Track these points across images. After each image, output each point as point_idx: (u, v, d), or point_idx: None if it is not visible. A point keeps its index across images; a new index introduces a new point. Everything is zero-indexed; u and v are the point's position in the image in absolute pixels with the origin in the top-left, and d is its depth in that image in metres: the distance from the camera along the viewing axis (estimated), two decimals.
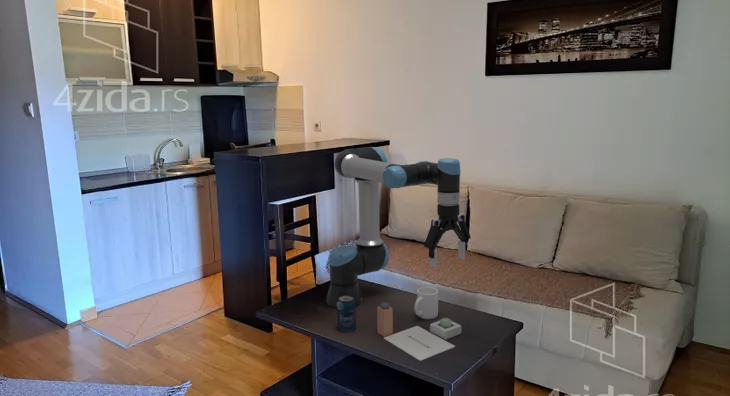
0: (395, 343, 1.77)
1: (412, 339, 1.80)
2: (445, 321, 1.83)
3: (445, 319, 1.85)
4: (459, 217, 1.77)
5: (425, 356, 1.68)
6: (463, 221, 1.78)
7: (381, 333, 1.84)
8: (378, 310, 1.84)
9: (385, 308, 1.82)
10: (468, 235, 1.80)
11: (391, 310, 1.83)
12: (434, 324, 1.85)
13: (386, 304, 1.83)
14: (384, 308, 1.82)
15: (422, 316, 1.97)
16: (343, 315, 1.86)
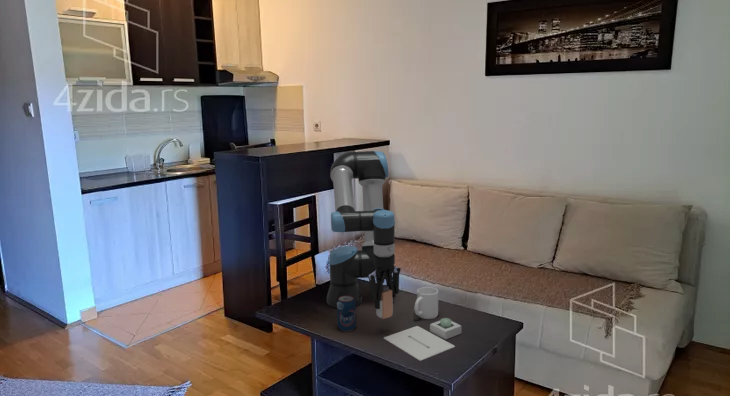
0: (395, 343, 1.77)
1: (412, 339, 1.80)
2: (445, 321, 1.83)
3: (445, 319, 1.85)
4: (395, 268, 1.84)
5: (425, 356, 1.68)
6: (397, 274, 1.84)
7: None
8: None
9: (385, 290, 1.81)
10: (397, 290, 1.85)
11: (391, 292, 1.82)
12: (434, 324, 1.85)
13: (386, 286, 1.82)
14: (384, 290, 1.81)
15: (422, 316, 1.97)
16: (343, 315, 1.86)
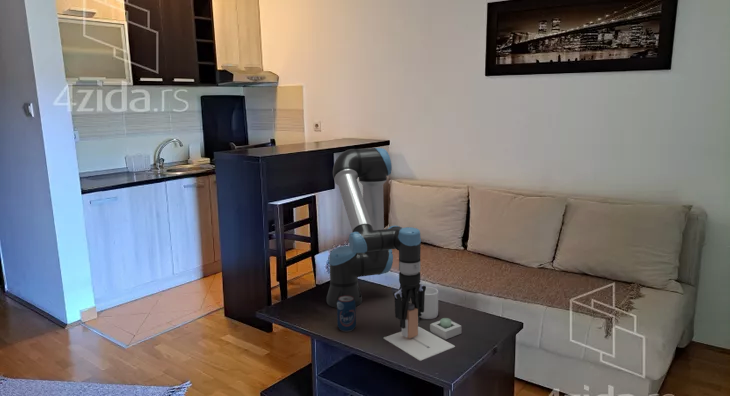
0: (395, 343, 1.77)
1: (412, 339, 1.80)
2: (445, 321, 1.83)
3: (445, 319, 1.85)
4: (421, 286, 1.81)
5: (425, 356, 1.68)
6: (423, 292, 1.81)
7: None
8: None
9: (410, 309, 1.78)
10: (422, 308, 1.82)
11: (416, 311, 1.79)
12: (434, 324, 1.85)
13: (411, 305, 1.79)
14: (409, 309, 1.78)
15: (422, 316, 1.97)
16: (343, 315, 1.86)
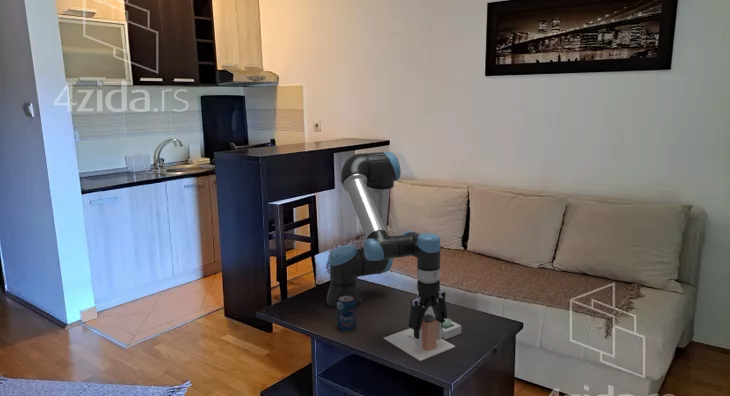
0: (395, 343, 1.77)
1: (412, 339, 1.80)
2: (445, 321, 1.83)
3: (445, 319, 1.85)
4: (440, 294, 1.73)
5: (425, 356, 1.68)
6: (443, 299, 1.73)
7: (424, 347, 1.72)
8: None
9: (429, 321, 1.70)
10: (445, 315, 1.75)
11: (435, 323, 1.71)
12: None
13: (430, 316, 1.71)
14: (428, 321, 1.70)
15: None
16: (343, 315, 1.86)
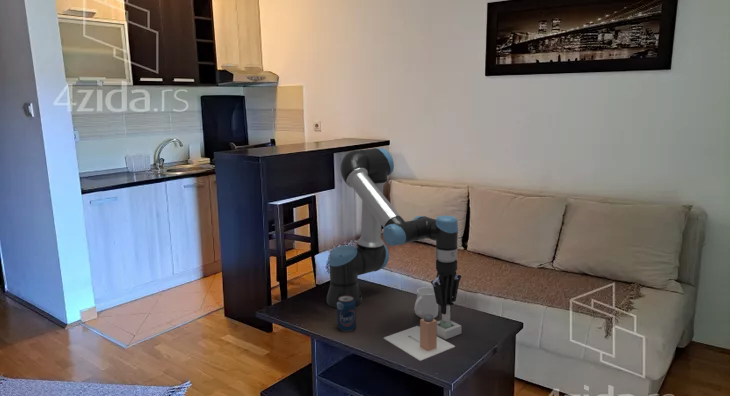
0: (395, 343, 1.77)
1: (412, 339, 1.80)
2: (445, 323, 1.83)
3: None
4: (456, 275, 1.83)
5: (425, 356, 1.68)
6: (458, 281, 1.83)
7: (424, 347, 1.72)
8: (421, 323, 1.72)
9: (429, 321, 1.70)
10: (454, 297, 1.83)
11: (435, 323, 1.71)
12: None
13: (430, 316, 1.71)
14: (428, 321, 1.70)
15: (422, 316, 1.97)
16: (343, 315, 1.86)
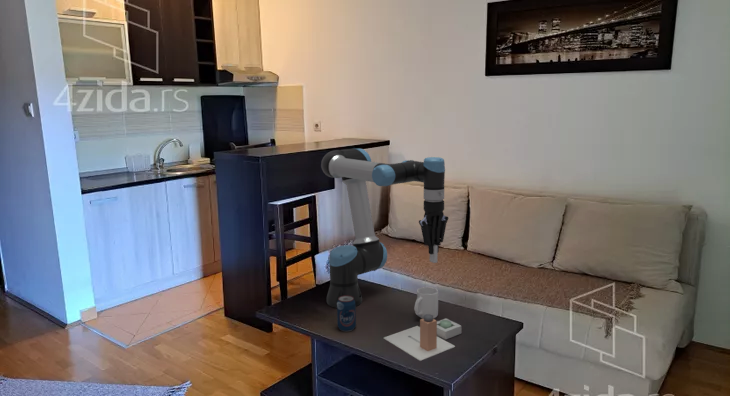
0: (395, 343, 1.77)
1: (412, 339, 1.80)
2: (445, 323, 1.83)
3: (445, 321, 1.85)
4: (444, 216, 1.88)
5: (425, 356, 1.68)
6: (445, 222, 1.88)
7: (424, 347, 1.72)
8: (421, 323, 1.72)
9: (429, 321, 1.70)
10: (442, 238, 1.88)
11: (435, 323, 1.71)
12: None
13: (430, 316, 1.71)
14: (428, 321, 1.70)
15: (422, 316, 1.97)
16: (343, 315, 1.86)
